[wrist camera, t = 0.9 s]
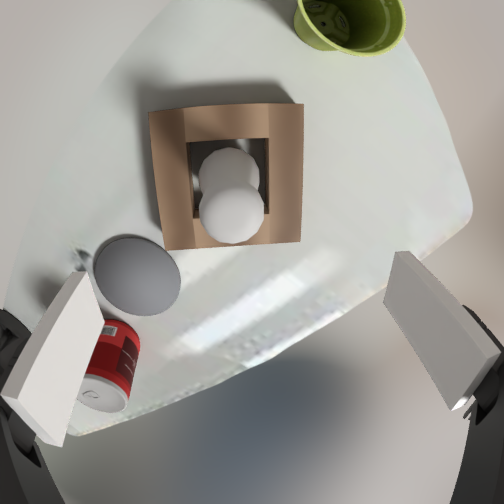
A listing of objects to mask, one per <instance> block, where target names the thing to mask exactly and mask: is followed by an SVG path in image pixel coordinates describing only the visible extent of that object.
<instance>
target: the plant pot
mask: <svg viewBox="0 0 504 504" xmlns="http://www.w3.org/2000/svg"><path fill="white" fill-rule="evenodd" d="M297 3H298V7H297V9H296V12H295V15H294V28H295V31H296V33H297V34H298V36H299V37H300V39H301V40H302V41H303V42H305V43H306V44H308V45H309V46H311V47H313V48H315V49H318V50H322V51H336V50H339V51H341V52H344V53H347V54H350V55H354V56H362V57H371V56H377V55H381V54H384V53H386V52H388V51H390V50H391V49H393V48H394V47H395V46H396V45H397V44H398V43H399V42H400V40H401V38H402V37H403V35H404V31H405V26H406V16H405V10H404V7H403V4H402V1H401V0H297ZM312 5H320V6H321V7H315V8H309V7H310V6H312ZM339 16H340V17H342V19H343V21H344V23H345V27H343V26H342V22H341V20H340V18H339ZM322 22H324V23H325V24H326V26H322V25H321V23H322ZM333 42H336V44H335V43H333Z"/></svg>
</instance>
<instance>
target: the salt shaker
mask: <svg viewBox="0 0 504 504" xmlns="http://www.w3.org/2000/svg"><path fill="white" fill-rule="evenodd" d="M199 186H200V189H201V191H202V194H203V197H202V199H201V202H200V204H199V215H200V222H201V224H202V226H203V227H204V229H205V231H206V232H207V234H208V235H210V236H211V237H213V238H214V239H216V240H217V241H219V242H223V243H230V244H235V243H239V242H243V241H247V240H248V239H249V238H250V237H252V236H253V235H254V234H255V233H257V232H258V230H259V228H260V226H261V224H262V222H263V220H264V202H263V200H262V198H261V196H260V194H259V192H258V186H259V169H258V167H257V165H256V163H255V160H254V158H253V157H251V156H250V155H248V154H247V153H246V152H244V151H243V150H240V149H235V148H230V147H227V148H223V149H220V150H216V151H214V152H213V153H212V154H210V155H209V156H208V157H207V158H206V159H204V161H203V163H202V166H201V168H200V170H199Z"/></svg>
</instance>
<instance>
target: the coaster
mask: <svg viewBox="0 0 504 504" xmlns="http://www.w3.org/2000/svg"><path fill="white" fill-rule="evenodd" d="M95 278H96V282H97V285H98V287H99V289H100V291H101V293H102V294H103V296H104V297H105V298H106V299H107V300H108V301H109V302H110V303H111V304H112V305H114V306H115V307H116V308H118V309H120V310H122V311H124V312H126V313H129V314H133V315H138V316H151V315H156V314H159V313H161V312H164V311H165V310H167V309H168V308H169V307H171V306H172V305H173V303H174V302H175V301H176V299H177V297H178V294H179V290H180V283H181V280H180V273H179V270H178V267H177V265H176V263H175V262H174V260H173V259H172V257H171V256H170V255H169V254H168V253H167V252H166V251H165V250H164V249H163V248H161V247H160V246H158V245H157V244H155V243H153V242H151V241H148V240H145V239H141V238H122V239H119V240H116V241H114V242H112V243H110V244H109V245H107V246H106V247H105V248H104V250H103V251H102V252H101V254H100V255H99V257H98V259H97V262H96V266H95Z"/></svg>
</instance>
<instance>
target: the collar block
mask: <svg viewBox="0 0 504 504" xmlns="http://www.w3.org/2000/svg"><path fill="white" fill-rule="evenodd" d="M148 115H149V128H150V139H151V150H152V159H153V168H154V177H155V185H156V193H157V200H158V207H159V214H160V221H161V227H162V233H163V240H164V245H165V251H169V250H183V249H198V248H212V247H227V246H242V245H257V244H273V243H289V242H300V239H301V217H302V189H303V142H304V104H291V103H253V104H226V105H210V106H198V107H187V108H178V109H169V110H161V111H154V112H148ZM246 138H264V142H265V204H264V220H263V222H262V224H261V226H260V228H259V230H258V232H257V233H255V234H254V235H253V236H252V237H250V238H249V239H248V240H247V241H243V242H239V243H235V244H230V243H223V242H219V241H217V240H216V239H214V238H213V237H211V236H210V235H208V234H207V232H206V231H205V229H204V227H203V226H202V224H201V222H200V215H199V208H197V209H195V201H194V191H193V180H192V168H191V155H190V142H198V141H210V140H225V139H246Z"/></svg>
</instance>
